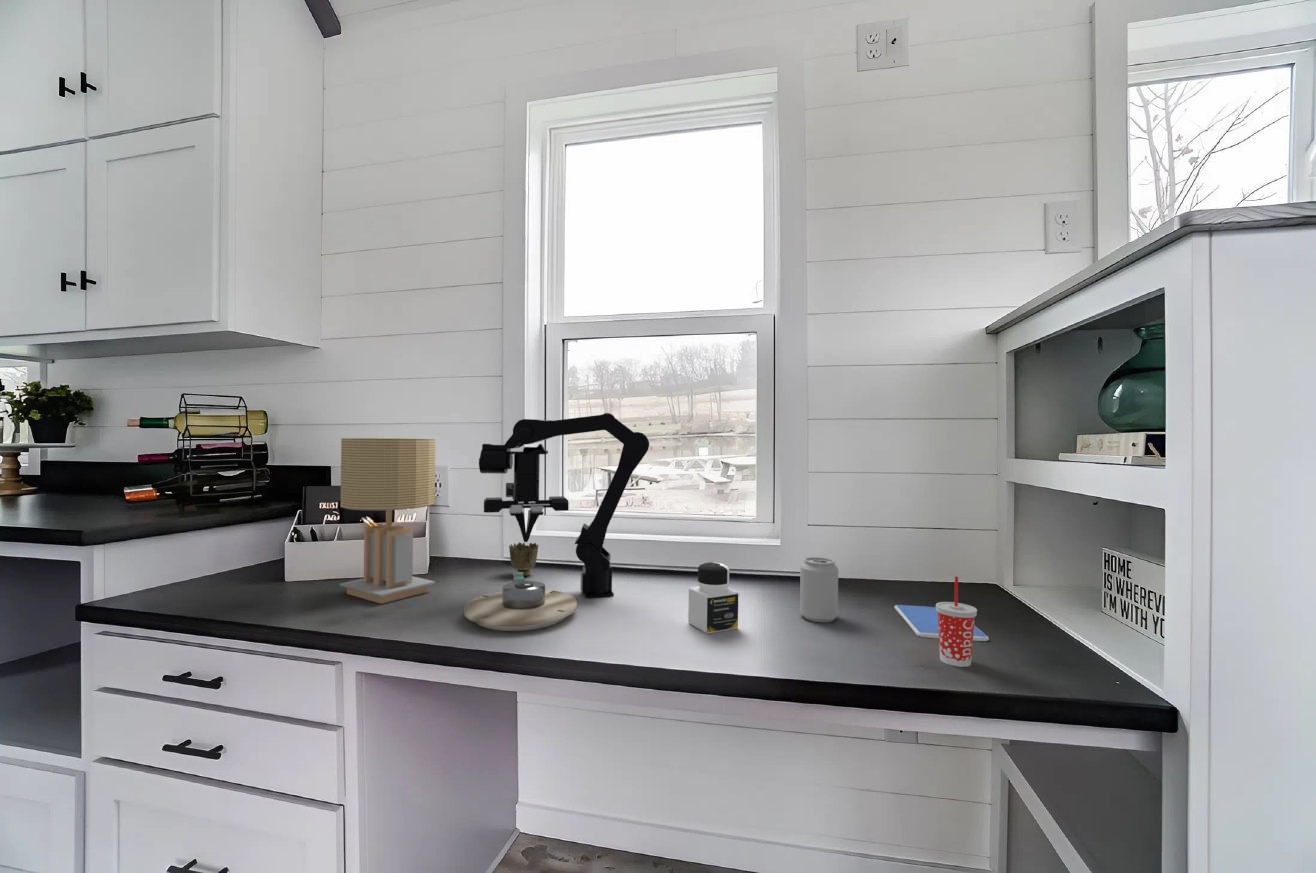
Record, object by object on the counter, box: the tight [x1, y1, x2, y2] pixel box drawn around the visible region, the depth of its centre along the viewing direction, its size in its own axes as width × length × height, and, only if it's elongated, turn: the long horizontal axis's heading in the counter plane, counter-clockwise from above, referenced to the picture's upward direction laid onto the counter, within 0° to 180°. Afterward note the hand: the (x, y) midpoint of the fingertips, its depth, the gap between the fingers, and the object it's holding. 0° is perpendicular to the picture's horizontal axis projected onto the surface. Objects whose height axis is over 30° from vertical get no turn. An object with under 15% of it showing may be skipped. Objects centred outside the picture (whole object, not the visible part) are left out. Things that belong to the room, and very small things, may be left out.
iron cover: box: [501, 580, 546, 610], centre depth 115 cm, size 8×8×4 cm
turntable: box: [463, 572, 578, 626], centre depth 115 cm, size 22×22×4 cm
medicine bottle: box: [687, 561, 739, 635], centre depth 110 cm, size 7×7×12 cm
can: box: [799, 556, 839, 623], centre depth 116 cm, size 8×8×12 cm
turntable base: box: [476, 618, 565, 632], centre depth 115 cm, size 18×18×1 cm
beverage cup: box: [935, 576, 978, 668], centre depth 94 cm, size 6×6×14 cm
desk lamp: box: [339, 437, 436, 604], centre depth 130 cm, size 20×20×35 cm
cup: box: [508, 541, 539, 577], centre depth 148 cm, size 8×7×8 cm
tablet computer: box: [894, 604, 990, 642], centre depth 114 cm, size 19×13×1 cm, turn 170°
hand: (525, 541), depth 131 cm, fingers closed
